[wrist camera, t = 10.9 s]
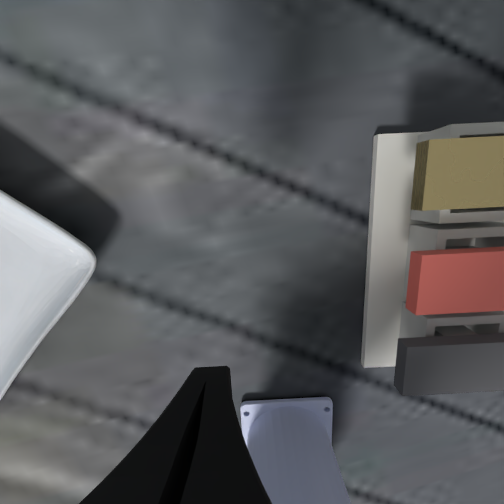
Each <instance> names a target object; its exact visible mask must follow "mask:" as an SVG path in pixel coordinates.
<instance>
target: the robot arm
mask: <svg viewBox="0 0 504 504" xmlns="http://www.w3.org/2000/svg"><path fill="white" fill-rule="evenodd" d="M326 407H328V408H326ZM240 410H241V424H242V431H241V428H240V425H239V422H238V418H237V415H236V411H235V407H234V403H233V399H232V388H231V376H230V368H229V367H228V366H217V367H199V368H194V369H193V370H192V372H191V373H190V375H189V376H188V378H187V379H186V381H185V382H184V384H183V385H182V387H181V388H180V390H179V391H178V392H177V394H176V395H175V397H174V398H173V399H172V401H171V402H170V403H169V405H168V406H167V407H166V409H165V410H164V411H163V413H162V414H161V415H160V417H159V418H158V419H157V420H156V422H155V423H154V424H153V425H152V426H151V428H150V429H149V430H148V431H147V433H146V434H145V435H144V436H143V437H142V439H141V440H140V441H139V442H138V443H137V444H136V446H135V447H134V448H133V449H132V450H131V451H130V452H129V453H128V454H127V456H126V457H125V458H124V459H123V460H122V461H121V462H120V463H119V464H118V465H117V466H116V467H115V468H114V469H113V471H112V472H111V473H110V474H109V475H108V476H107V477H106V478H105V479H104V480H103V481H102V482H101V483H100V484H99V485H98V486H97V487H96V488H95V489H94V490H93V491H92V492H91V493H90V494H89V495H87V496H86V497H85V498H84V499H83V500H82V501H81V502H80V503H79V504H351V502H350V499H349V496H348V493H347V490H346V487H345V484H344V481H343V478H342V475H341V472H340V469H339V466H338V463H337V460H336V457H335V454H334V451H333V448H332V415H333V403H332V400H331V398H329V397H313V398H294V399H276V400H257V401H244V402H242V403H241V407H240ZM246 411H247V413H246Z"/></svg>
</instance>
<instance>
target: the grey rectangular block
mask: <svg viewBox="0 0 504 504" xmlns="http://www.w3.org/2000/svg"><path fill="white" fill-rule="evenodd" d="M394 386H395V387H396V389H397V390H398V391H399V393H400V394H401V395H402V396H416V395H435V394H453V393H472V392H491V391H504V333H490V334H477V333H475V332H474V331H472V330H470V329H469V328H467V327H466V326H464V325H455V326H436V327H435V333H434V336H433V337H414V338H398V344H397V355H396V365H395V376H394Z"/></svg>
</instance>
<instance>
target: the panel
mask: <svg viewBox="0 0 504 504" xmlns="http://www.w3.org/2000/svg"><path fill="white" fill-rule="evenodd" d="M490 136H504V122H487V123H466V124H450V125H447V126H444V127H441V128H438V129H436V130H433V131H430V132H413V133H393V134H378V135H375V136H374V140H373V158H372V176H371V193H370V211H369V228H368V246H367V264H366V281H365V299H364V317H363V334H362V352H361V364H362V366H363V367H364V368H370V367H389V366H395V365H396V355H397V344H398V338H414V337H433V336H434V333H435V327H436V326H455V325H464V326H466V327H467V328H469V329H470V330H472V331H474V332H475V333H477V334H490V333H504V311H489V312H470V313H451V314H432V315H415V314H413V313H412V312H411V311H409V310H408V309H406V308H405V306H406V296H407V285H408V275H409V265H410V255H411V251H426V250H445V247H452V246H474V247H479V248H484V247H504V207H486V208H467V209H447V210H428V211H419V210H411V199H412V188H413V177H414V167H415V156H416V145H417V143H419V142H423V141H426V140H430V139H450V138H470V137H490Z"/></svg>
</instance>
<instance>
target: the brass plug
mask: <svg viewBox="0 0 504 504" xmlns="http://www.w3.org/2000/svg"><path fill="white" fill-rule="evenodd" d="M486 207H504V136H490V137H470V138H450V139H430V140H426V141H423V142H419V143H417V145H416V156H415V167H414V177H413V188H412V199H411V210H419V211H428V210H447V209H467V208H486Z"/></svg>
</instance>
